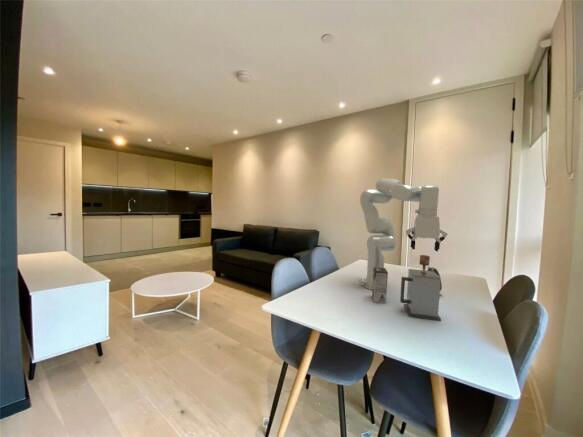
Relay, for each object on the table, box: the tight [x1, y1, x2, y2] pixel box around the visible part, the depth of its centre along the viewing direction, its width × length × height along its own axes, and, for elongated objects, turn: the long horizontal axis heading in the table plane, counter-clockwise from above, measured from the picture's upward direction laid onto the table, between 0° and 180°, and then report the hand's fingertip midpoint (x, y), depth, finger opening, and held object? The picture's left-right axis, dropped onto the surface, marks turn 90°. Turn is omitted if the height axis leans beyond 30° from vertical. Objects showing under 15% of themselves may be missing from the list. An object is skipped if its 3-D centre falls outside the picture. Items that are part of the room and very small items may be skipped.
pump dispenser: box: [426, 266, 443, 293], centre depth 145 cm, size 10×10×15 cm
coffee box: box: [371, 267, 389, 304], centre depth 133 cm, size 9×6×16 cm
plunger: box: [419, 254, 431, 274], centre depth 117 cm, size 9×9×20 cm
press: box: [399, 268, 442, 322], centre depth 118 cm, size 16×13×19 cm
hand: (424, 249), depth 117 cm, fingers open, 9 cm apart
